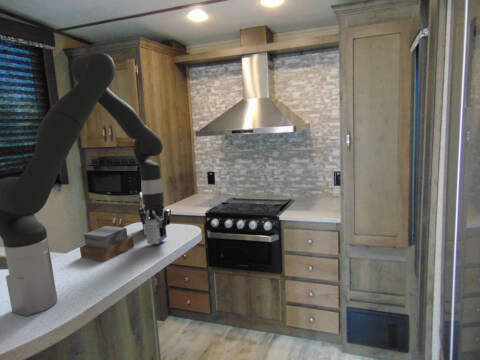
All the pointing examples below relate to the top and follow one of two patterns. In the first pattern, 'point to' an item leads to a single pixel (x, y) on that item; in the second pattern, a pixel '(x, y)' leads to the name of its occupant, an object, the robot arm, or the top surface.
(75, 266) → the top surface
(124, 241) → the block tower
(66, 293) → the top surface
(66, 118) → the robot arm
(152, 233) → the medicine box
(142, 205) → the white cardboard box
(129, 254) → the top surface
